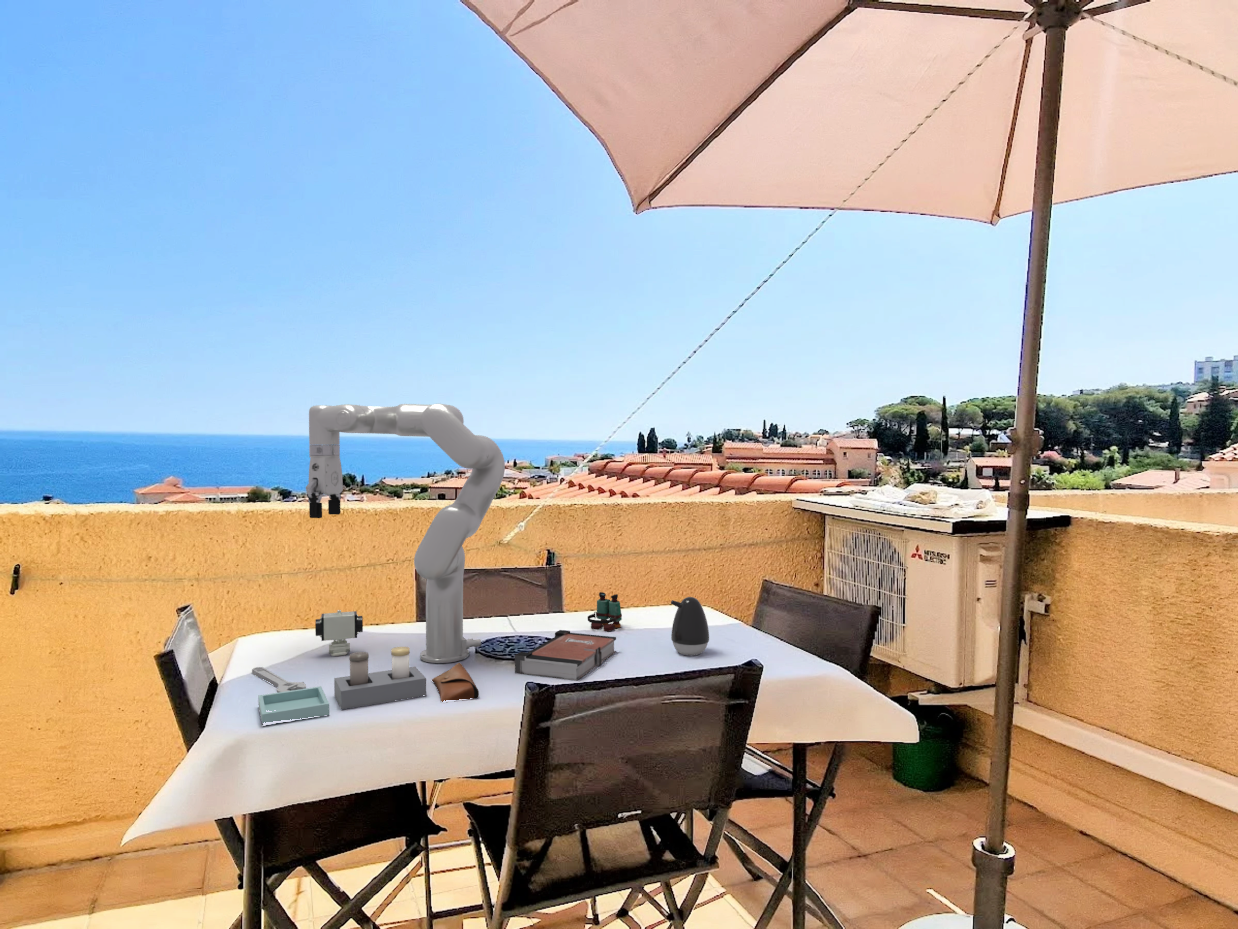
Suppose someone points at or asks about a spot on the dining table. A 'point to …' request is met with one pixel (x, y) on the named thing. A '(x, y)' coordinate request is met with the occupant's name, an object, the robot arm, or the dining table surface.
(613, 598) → the green twin tank jetpack
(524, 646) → the dining table surface
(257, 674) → the adjustable wrench
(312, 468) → the robot arm
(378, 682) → the block
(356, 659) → the cylinder
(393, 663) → the cylinder
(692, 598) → the pump dispenser
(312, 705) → the parts tray
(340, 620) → the pneumatic valve
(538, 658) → the book
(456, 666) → the sunglasses case
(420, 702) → the dining table surface
